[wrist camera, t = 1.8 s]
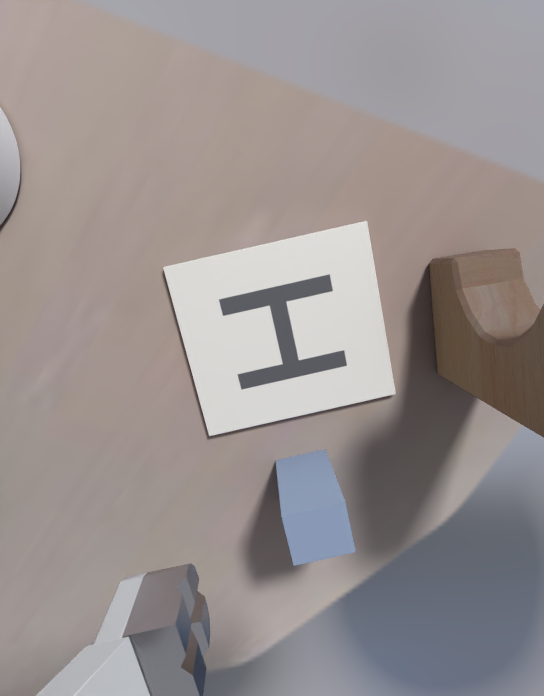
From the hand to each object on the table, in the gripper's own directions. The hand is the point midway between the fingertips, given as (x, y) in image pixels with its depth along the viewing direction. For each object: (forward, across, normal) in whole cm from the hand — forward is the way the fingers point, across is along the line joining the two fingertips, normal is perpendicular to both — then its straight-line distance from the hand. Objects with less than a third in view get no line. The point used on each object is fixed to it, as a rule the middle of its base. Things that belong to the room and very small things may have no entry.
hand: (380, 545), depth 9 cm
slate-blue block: (+29, +1, +15) cm, 32 cm away
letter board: (+29, 0, 0) cm, 29 cm away
